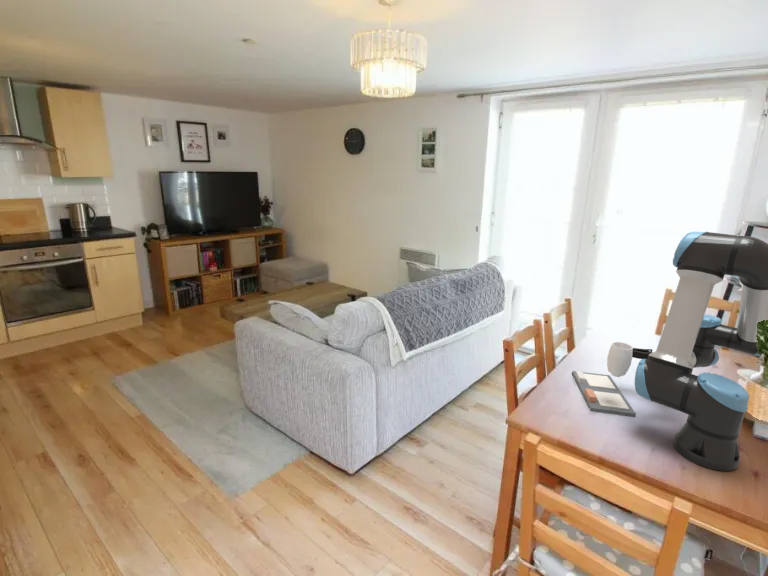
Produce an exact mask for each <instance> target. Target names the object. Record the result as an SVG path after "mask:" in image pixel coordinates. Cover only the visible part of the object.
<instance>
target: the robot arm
mask: <svg viewBox="0 0 768 576" xmlns="http://www.w3.org/2000/svg"><path fill="white" fill-rule="evenodd" d="M672 265H673V266H674V267H675V268H676V270H675V271H676V274H677V275H678V277H679V280H678V284H677V287H676V289H675V293H674V296H673V299H672V302H671V304H670V308H669V310H668V315H667V317H666V319H665V322H664V326H663V329H662V332H661V334H660V339H659V340H658V344H657V347H656V350H655V351H653V349H651V348H639V347H638V348H636V347H633V353H632V359H633V358H635V359H639V362H638V365H637V366H636V369H635V374H634V388H635V392H636V393H637V394H638V396H639V397H641V398H644V399H646V400H649V401H650V402H653V403H656V404H660V405H662V406H664V407H667V408H670V409H673V410H676V411H678V412H680V413H683V414H686V415H687V419H686V422H685V424H684V425H683V426H681V428H680V429H679V431H678V432H677V433H676V434H675V436H674V440H673V446H674V448H675V449H676V451H677V452H678V453H679V454H680V455H682V456H683V457H684V458H686V459H688V460H690V462H693V463H695V464H697V465H699V466H702V467H704V468H707V469H711V470H714V471H720V472H731V471H735V470H736V469H738V467H739V464H740V460H741V457H740V451H739V450H740V449H739V444H738V442H739V441H738V438H739V435H740V431H741V428H742V424H743V421H744V418H745V415H746V412H747V411H748V408H749V407H748V405H749V399H750V395H749V392H748V391H747V389H745V387H743V386H742V385H741V384H740V383H739V382H736V381H735V380H733V379H730V378H728V377H726V376H724V375H720V374H717V373H712V372H701V373H700V374H698V375H695V374H693V371H694V370H693V369H695V368H696V369H697V368H706V367H711V366H715V365H716V364H717V363H718V362H719V359H720V356H719V351H718V350H717V348H715V347H716V346H719V347H722V348H726V349H729V350H732V351H733V350H734V351H738V352H741V353H745V354H749V355H751V356H757V357H761V355H760V354H758V353H757V348H756V347H757V346H756V341H755V340H756V339H757V338H756V335H757V323H758V322H761V321H763V320H765V321H766V320H768V243H767V242H766V241H764V240H763V239H760V238H758V237H754V236H750V235H749V236H748V235H735V234H727V233H720V232H719V233H718V232H712V231H711V232H709V231H690V232H687V233H686V234H685V235H684V236H682V238H681V240H680V241H679V243H678V244H677V247H676V249H675V252H674V254H673V258H672ZM725 276H732V277H738V279H739V283H741V285H742V288H741V299H740V304H739V305H740V306H739V313H738V320H737V327H734V326H729V325H725V324H723V323H722V319H721V318H720V317H719V316H718V317H717V316H715V315H712V314H706V311H707V308H708V306H709V303H710V299H711V296H712V294H713V292H714V291H713V289H714V287H715V286H716V285H717V284H719V283H721V282H723V281H724V277H725ZM761 358H762V357H761Z"/></svg>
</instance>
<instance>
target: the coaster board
mask: <svg viewBox="0 0 768 576" xmlns="http://www.w3.org/2000/svg"><path fill="white" fill-rule="evenodd" d="M572 374H573V375H572ZM571 375H572V378H573V379H574V380H575V383H576V385H577V387H578V389H579V390H580V392H581V395H582V397H583V398H584V401H585V402H586V404H587V407H588V409H589V408H590V409H589V410H591V412H594V411H595V412H596V413H604V414H612V415H618V416H619V415H620V416H627V417H635V418H636V416H637V412H636V411H635V410H634V408H633V407H632V405H631V404H630V402H629V401H628V400H627V398H626V396H624V394H623V392H622V391H621V390H620V388H619V387H618V385H617V384H616V382H615V381H614V379H613V378H612V376H611V375H610V374H602V373H601V374H600V373H593V372H592V373H591V372H583V371H578V370H575V371H574V370H572V371H571Z"/></svg>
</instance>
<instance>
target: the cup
mask: <svg viewBox="0 0 768 576" xmlns="http://www.w3.org/2000/svg"><path fill="white" fill-rule="evenodd" d="M633 348H634V347H633V346H632V345H631V344H628V343H625V342H623V341H614V342H612V343H611V345H610V348H609V351H608V354H607V359H606V360H607V363H606V366H607V371H608V372H609V373H610V374H611V375H612V376H613V377H616V378H620V377H623V376H625V375H626V374H627V373H628V372H629V369H630V368H631V364H632V362H633V361H632V360H633V357H632V353H633Z"/></svg>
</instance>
